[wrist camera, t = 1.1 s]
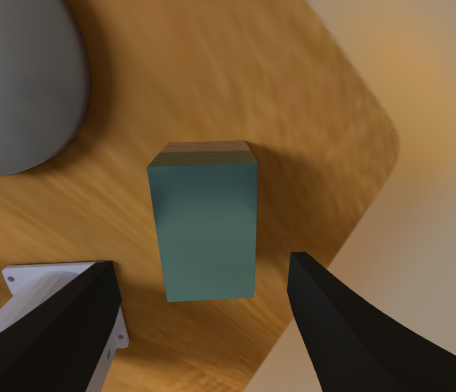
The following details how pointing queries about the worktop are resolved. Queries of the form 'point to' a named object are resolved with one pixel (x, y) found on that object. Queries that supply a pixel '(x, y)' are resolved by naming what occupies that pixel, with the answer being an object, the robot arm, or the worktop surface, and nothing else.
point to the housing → (205, 219)
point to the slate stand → (40, 82)
